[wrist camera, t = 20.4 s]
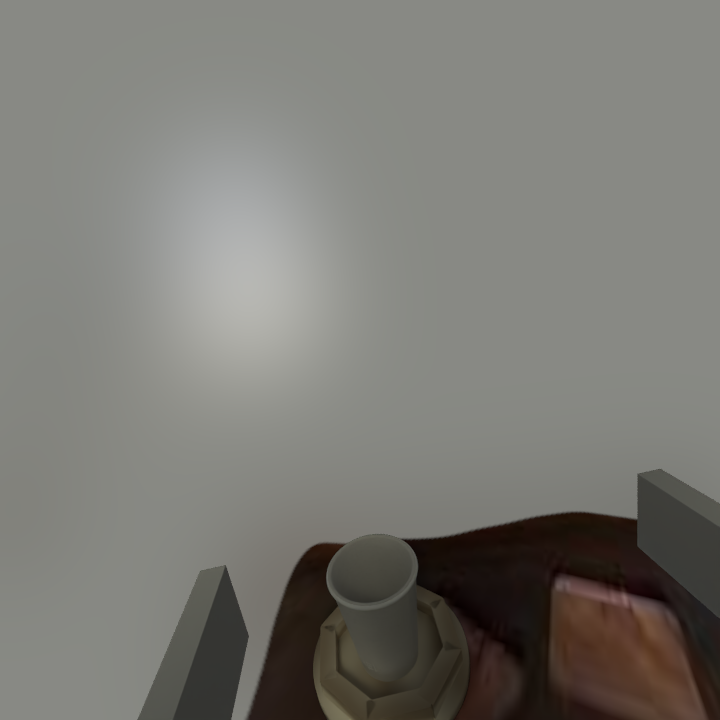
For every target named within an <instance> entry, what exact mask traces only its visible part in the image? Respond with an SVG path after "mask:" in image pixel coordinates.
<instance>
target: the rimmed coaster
mask: <svg viewBox="0 0 720 720" xmlns="http://www.w3.org/2000/svg"><path fill="white" fill-rule="evenodd" d="M416 591H417V626H418V657H417V661H416V663H415V665H414V667H413V668H412V669H411V671H410V672H409V673H408V674H407V675H405V676H404V677H402V678H400V679H398V680H395V681H390V682H385V681H380V680H377V679H375V678H373V677H372V676H370V675H369V674H368V673H367V672H366V670H365V669H364V667H363V665H362V662H361V660H360V657H359V655H358V653H357V650H356V648H355V645H354V643H353V641H352V638H351V636H350V633H349V631H348V628H347V626H346V624H345V621H344V619H343V616H342V614H341V611H340V609H339V607H337V608H336V609H335V610H334V611H333V613H332V614H331V615H330V616H329V617H328V618H327V620H326V621H325V622H324V623H323V624H322V625H321V626H322V627H321V635H320V637H319V640H318V643H317V646H316V651H315V655H314V664H313V673H314V682H315V688H316V692H317V695H318V699H319V702H320V705H321V708H322V710H323V712H324V714H325V716H326V718H327V719H328V720H454V718H455V717H456V716H457V714H458V712H459V710H460V708H461V706H462V704H463V702H464V699H465V696H466V694H467V689H468V685H469V678H470V658H469V651H468V646H467V640H466V637H465V634H464V631H463V629H462V626H461V624H460V622H459V620H458V619H457V617H456V616H455V614H454V613H453V612H452V610H451V609H450V608H449V607H448V606H447V605H446V604H445V601H444V599H443V597H441V596H439V595H437V594H435V593H432V592H430V591H428V590H426V589H424V588H422V587H420V586H418V585H416Z"/></svg>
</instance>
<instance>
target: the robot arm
mask: <svg viewBox="0 0 720 720" xmlns="http://www.w3.org/2000/svg"><path fill="white" fill-rule="evenodd" d="M638 547H639V548H640V549H641V550H642V551H644V552H645V553H646V554H647V555H648V556H649V557H650V558H651V559H653V560H654V561H655V562H656V563H657V564H658V565H659V566H661V567H662V568H663V569H664V570H665V571H666V572H667V573H669V574H670V575H671V576H672V577H673V578H674V579H675V580H677V581H678V582H679V583H680V584H681V585H682V586H683V587H684V588H686V589H687V590H688V591H689V592H690V593H691V594H692V595H694V596H695V597H696V598H697V599H698V600H699V601H700V602H702V603H703V604H704V605H705V606H706V607H707V608H708V609H709V610H711V611H712V612H713V613H714V614H715V615H716V616H717V617H719V618H720V504H719V503H717V502H716V501H714V500H712V499H711V498H709V497H707V496H706V495H704V494H702V493H700V492H699V491H697V490H695V489H694V488H692V487H690V486H689V485H687V484H685V483H684V482H682V481H680V480H678V479H677V478H675V477H673V476H672V475H670V474H668V473H666V472H665V471H663V470H661V469H658V470H653V471H649V472H644V473H640V474H638ZM248 637H249V636H248V632H247V629H246V626H245V623H244V620H243V617H242V614H241V611H240V607H239V604H238V601H237V598H236V595H235V592H234V589H233V586H232V583H231V580H230V577H229V574H228V571H227V568H226V565H224V566H220V567H215V568H211V569H206V570H202V571H200V573H199V575H198V578H197V580H196V582H195V585H194V587H193V589H192V592H191V594H190V597H189V599H188V601H187V604H186V606H185V609H184V611H183V614H182V616H181V618H180V620H179V623H178V625H177V627H176V630H175V632H174V635H173V637H172V639H171V642H170V644H169V647H168V649H167V651H166V654H165V656H164V658H163V661H162V663H161V666H160V668H159V670H158V673H157V675H156V678H155V680H154V683H153V685H152V687H151V690H150V692H149V694H148V697H147V699H146V701H145V704H144V706H143V708H142V711H141V713H140V715H139V718H138V720H231V717H232V713H233V708H234V703H235V699H236V694H237V689H238V684H239V680H240V675H241V670H242V665H243V660H244V656H245V651H246V647H247V642H248Z"/></svg>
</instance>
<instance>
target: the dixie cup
mask: <svg viewBox="0 0 720 720" xmlns="http://www.w3.org/2000/svg"><path fill="white" fill-rule="evenodd" d="M417 572H418V562H417V558H416V555H415V553H414V551H413V550H412V548H411V547H410V546H409V545H408V544H407V543H406V542H404V541H403V540H401V539H399V538H397V537H394V536H390V535H385V534H372V535H366V536H362V537H359V538H357V539H355V540H352V541H351V542H349V543H347V544H346V545H345V546H343V547H342V548H341V549H340V550H339V551H338V552H337V553H336V554H335V555H334V557H333V558H332V560H331V562H330V564H329V566H328V570H327V576H326V580H327V586H328V589H329V591H330V593H331V595H332V596H333V597H334V598H335V599H336V602H337V604H338V607H339V609H340V611H341V614H342V616H343V619H344V621H345V624H346V626H347V628H348V631H349V633H350V636H351V638H352V641H353V643H354V645H355V648H356V650H357V653H358V655H359V657H360V660H361V662H362V665H363V667H364V669H365V670H366V672H367V673H368V674H369V675H370V676H372V677H373V678H375V679H377V680H380V681H385V682H390V681H395V680H398V679H400V678H402V677H404V676H405V675H407V674H408V673H409V672H410V671H411V669H412V668H413V667H414V665H415V663H416V661H417V657H418V626H417V591H416V577H417Z"/></svg>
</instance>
